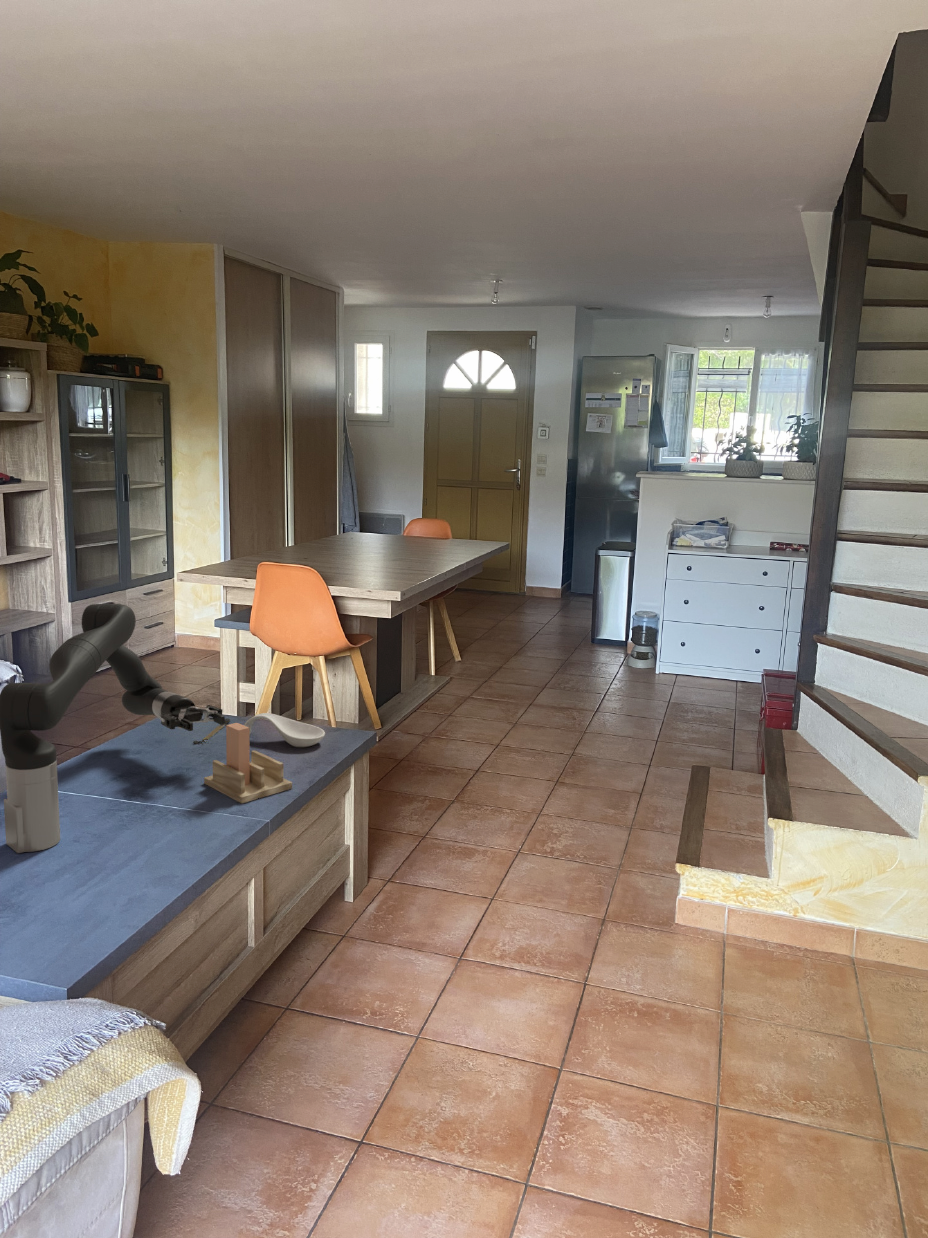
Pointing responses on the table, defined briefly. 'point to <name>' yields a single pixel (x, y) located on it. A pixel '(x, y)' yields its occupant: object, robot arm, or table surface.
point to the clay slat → (238, 749)
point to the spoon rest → (291, 730)
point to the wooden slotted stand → (262, 779)
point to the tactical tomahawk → (213, 731)
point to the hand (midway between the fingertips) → (207, 723)
